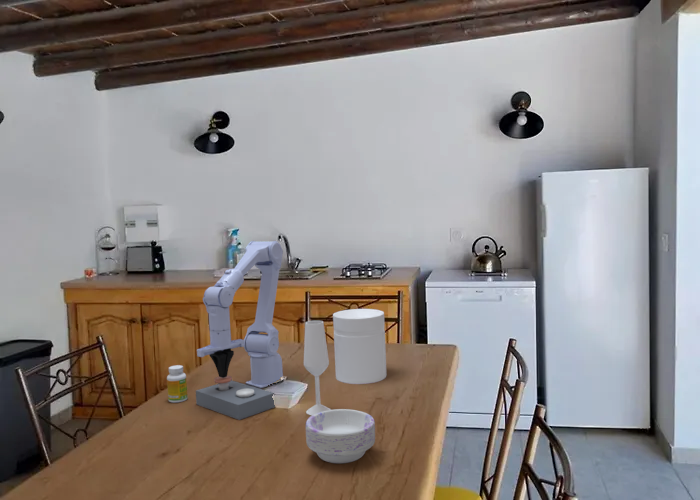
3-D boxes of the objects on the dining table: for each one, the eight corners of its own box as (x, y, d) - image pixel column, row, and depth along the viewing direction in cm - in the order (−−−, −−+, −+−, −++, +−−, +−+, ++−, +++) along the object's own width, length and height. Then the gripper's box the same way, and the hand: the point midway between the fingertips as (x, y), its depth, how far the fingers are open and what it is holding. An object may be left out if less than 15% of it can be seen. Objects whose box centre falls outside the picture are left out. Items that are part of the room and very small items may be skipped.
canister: (327, 381, 189) (324, 317, 188) (347, 367, 204) (344, 308, 202) (376, 385, 183) (373, 319, 182) (393, 370, 198) (390, 309, 196)
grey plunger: (247, 401, 171) (246, 387, 170) (258, 404, 168) (257, 390, 167) (233, 406, 167) (232, 391, 167) (244, 409, 164) (243, 395, 164)
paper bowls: (385, 463, 131) (384, 426, 130) (316, 475, 126) (314, 437, 126) (363, 437, 145) (362, 404, 145) (300, 447, 141) (298, 413, 140)
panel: (231, 393, 182) (230, 380, 182) (275, 407, 168) (274, 392, 168) (196, 404, 173) (195, 390, 173) (239, 420, 160) (238, 405, 159)
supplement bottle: (182, 403, 175) (180, 369, 174) (165, 402, 176) (162, 369, 175) (190, 397, 180) (188, 364, 179) (174, 396, 181) (171, 364, 181)
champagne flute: (313, 405, 168) (309, 319, 166) (335, 408, 165) (331, 320, 163) (301, 413, 162) (296, 324, 160) (323, 416, 159) (319, 325, 157)
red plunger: (226, 388, 178) (225, 374, 177) (236, 391, 174) (235, 377, 174) (211, 392, 174) (211, 378, 174) (221, 395, 171) (220, 381, 170)
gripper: (232, 322, 181) (235, 368, 182) (189, 332, 170) (192, 380, 171) (247, 325, 176) (250, 372, 177) (204, 335, 165) (207, 384, 166)
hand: (222, 376), depth 174 cm, fingers closed
